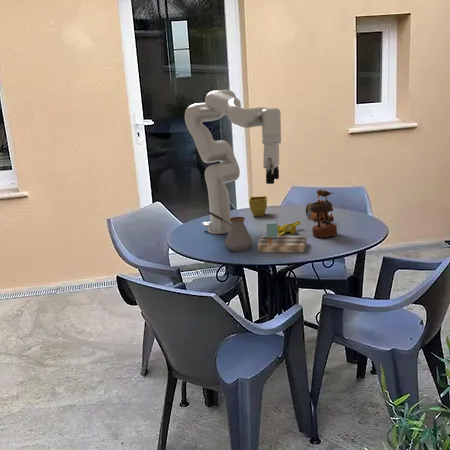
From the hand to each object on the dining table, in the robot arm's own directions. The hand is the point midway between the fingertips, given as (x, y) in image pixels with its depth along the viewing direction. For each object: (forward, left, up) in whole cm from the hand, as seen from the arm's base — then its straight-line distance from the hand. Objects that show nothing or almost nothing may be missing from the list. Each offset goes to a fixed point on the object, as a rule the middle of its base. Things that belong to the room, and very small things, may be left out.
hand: (272, 181), depth 218 cm
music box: (+19, +11, -27) cm, 35 cm away
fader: (0, -7, -23) cm, 24 cm away
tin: (+14, +36, -27) cm, 47 cm away
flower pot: (-17, +48, -27) cm, 57 cm away
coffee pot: (-19, -7, -27) cm, 33 cm away
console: (+4, -7, -26) cm, 28 cm away
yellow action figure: (-1, +16, -27) cm, 31 cm away
